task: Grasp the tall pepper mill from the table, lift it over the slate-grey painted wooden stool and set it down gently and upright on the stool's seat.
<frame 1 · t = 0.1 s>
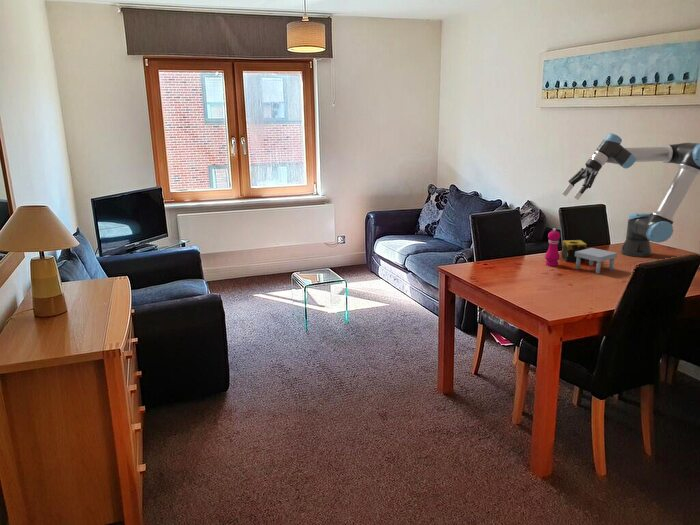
hand: (569, 196, 267), 36 cm above the table, tool tilted 35°, fingers open, 13 cm apart
yellow and black cube: (573, 260, 283), on the table
stool: (594, 269, 264), on the table
pepper mill: (551, 265, 274), on the table
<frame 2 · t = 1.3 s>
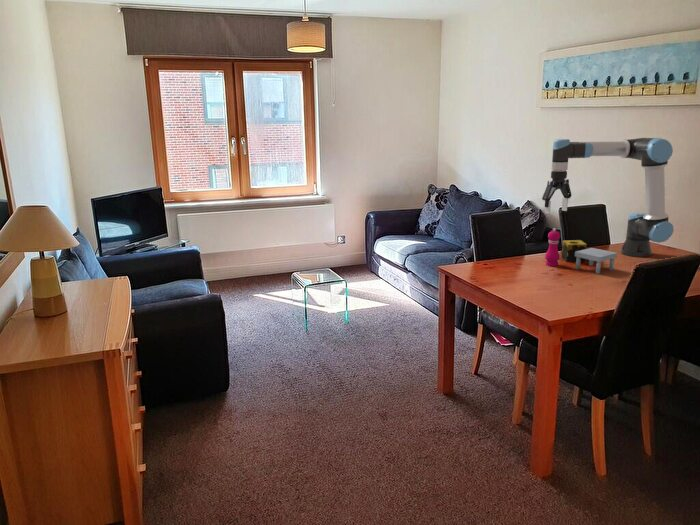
hand: (555, 212, 267), 28 cm above the table, tool pointing down, fingers open, 13 cm apart
nothing on the table moved.
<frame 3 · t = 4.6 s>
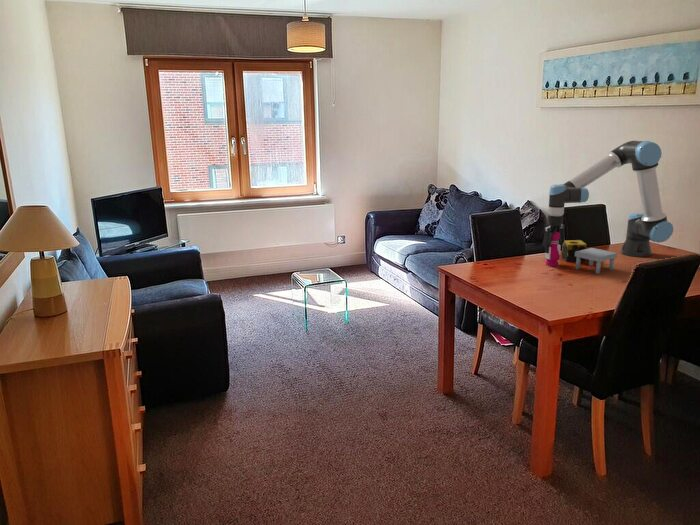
hand: (552, 257, 273), 4 cm above the table, tool pointing down, fingers closed on pepper mill, 7 cm apart
pepper mill: (551, 265, 274), on the table, touching gripper
everything else where it was.
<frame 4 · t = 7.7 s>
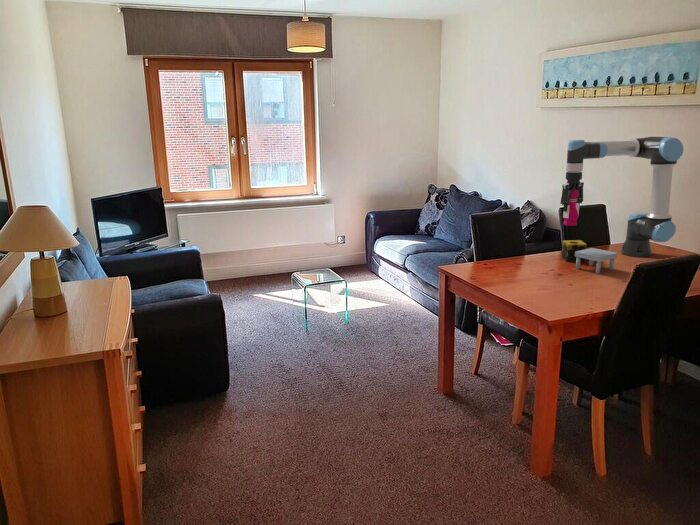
hand: (570, 216, 264), 26 cm above the table, tool pointing down, fingers closed on pepper mill, 7 cm apart
pepper mill: (570, 225, 265), point 22 cm above the table, touching gripper
everything else where it was.
when the fingers open (15 cm above the table, at t = 11.2 s): pepper mill drops 1 cm, resting on stool.
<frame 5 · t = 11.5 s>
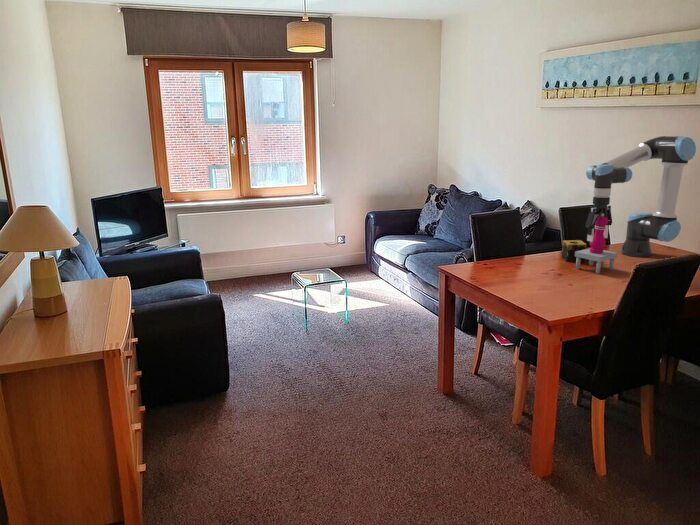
hand: (597, 239, 260), 16 cm above the table, tool pointing down, fingers open, 11 cm apart
pepper mill: (596, 252, 262), point 9 cm above the table, touching stool
everything else where it was.
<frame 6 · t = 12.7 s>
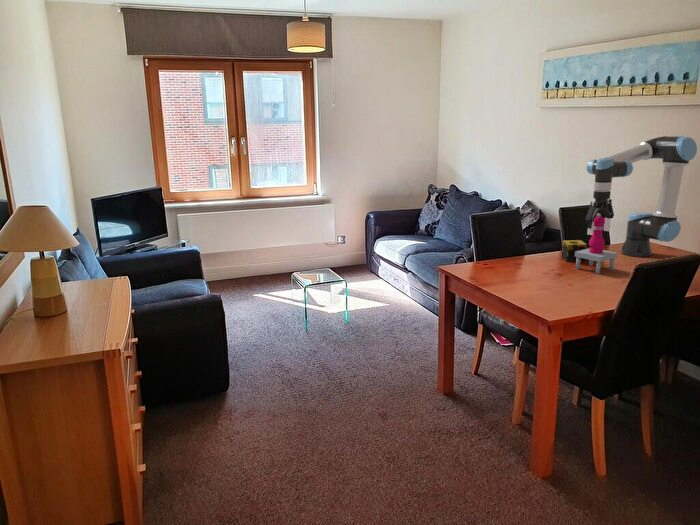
hand: (598, 232, 259), 19 cm above the table, tool pointing down, fingers open, 13 cm apart
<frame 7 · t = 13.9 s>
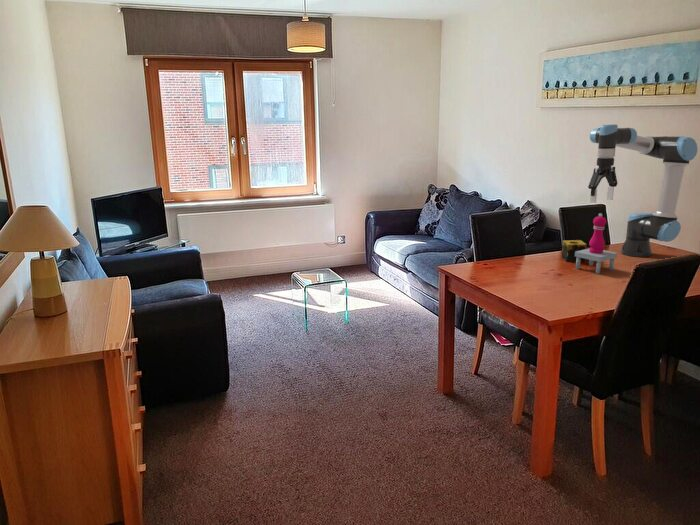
hand: (601, 201, 255), 35 cm above the table, tool pointing down, fingers open, 13 cm apart
nothing on the table moved.
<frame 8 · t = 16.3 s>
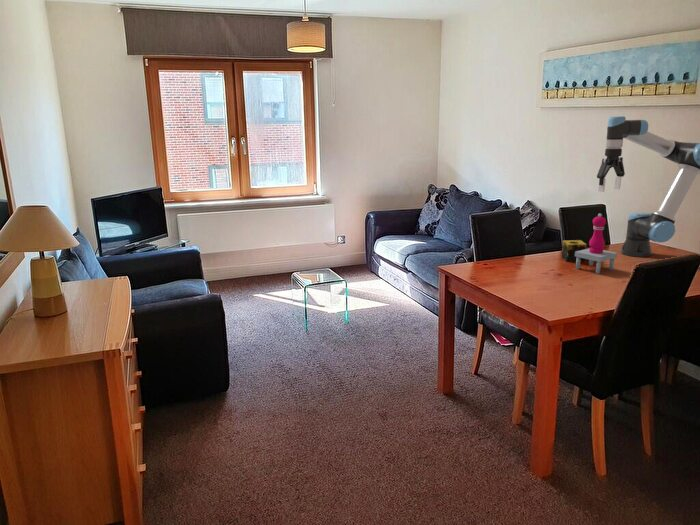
hand: (609, 190, 265), 39 cm above the table, tool pointing down, fingers open, 13 cm apart
nothing on the table moved.
at the end: pepper mill inside the target area on the stool (0.1 cm from its centre), point 8.8 cm above the stool's base; pepper mill tilted 1°; the gripper is holding nothing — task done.
